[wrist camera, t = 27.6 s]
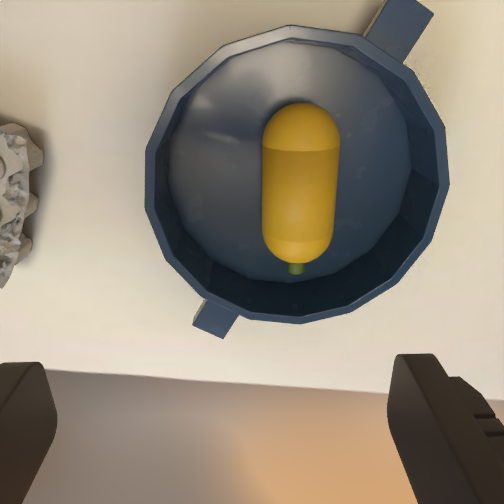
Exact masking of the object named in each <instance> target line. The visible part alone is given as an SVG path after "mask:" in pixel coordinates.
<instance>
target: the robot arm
mask: <svg viewBox="0 0 504 504" xmlns="http://www.w3.org/2000/svg"><path fill="white" fill-rule="evenodd" d="M387 417H388V424H389V429H390V432H391V435H392V437H393V440H394V443H395V445H396V448H397V450H398V453H399V456H400V458H401V461H402V463H403V466H404V468H405V471H406V473H407V476H408V479H409V481H410V484H411V486H412V489H413V492H414V494H415V497H416V499H417V502H418V504H504V426H503V424H502V423H501V422H500V420H499V419H498V418H496V417H495V413H494V412H493V410H492V409H491V407H490V406H489V404H488V403H487V402H486V400H485V399H484V397H483V396H482V394H481V393H480V392H478V391H477V390H476V389H475V388H473V387H472V386H471V385H469V384H468V383H467V382H466V381H464V380H463V379H462V378H461V377H448V375H447V374H446V372H445V370H444V369H443V367H442V366H441V364H440V363H439V361H438V359H437V358H436V357H435V356H434V355H433V354H398V355H397V356H396V358H395V361H394V366H393V372H392V378H391V385H390V391H389V397H388V403H387ZM56 428H57V411H56V408H55V404H54V401H53V397H52V394H51V390H50V387H49V383H48V380H47V377H46V373H45V370H44V367H43V365H42V364H41V363H39V362H11V363H2V364H0V504H22V502H23V500H24V498H25V496H26V494H27V492H28V490H29V488H30V486H31V484H32V482H33V480H34V478H35V476H36V474H37V472H38V470H39V468H40V466H41V464H42V462H43V460H44V458H45V456H46V454H47V452H48V450H49V447H50V446H51V444H52V441H53V439H54V436H55V433H56Z"/></svg>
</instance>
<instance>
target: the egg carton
mask: <svg viewBox="0 0 504 504" xmlns="http://www.w3.org/2000/svg"><path fill="white" fill-rule="evenodd" d="M43 160H44V154H43V151H42V150H40V149H39V148H38V147H37V146H36V145H35V144H34V143H33V142H32V141H31V139H30V137H29V134H28V131H27V130H26V129H25V128H24V127H21V126H19V125H18V124H16V123H10V124H6V125H3V126H0V288H3V287H4V286H5V284H6V282H7V281H8V279H9V277H10V275H11V273H12V270H13V267H14V265H16V264H17V263H19V262H20V261H21V260H22V259H23V258H24V257H26V256H27V255H28V254H29V253H30V252H31V249H32V241H31V239H29V238H27V237H26V236H25V235H24V234H23V232H22V228H23V222H24V219H25V218H26V217H27V216H29V215H30V214H32V213H33V212H35V211H36V209H37V207H38V198H37V197H36V196H35V195H33V194H31V193H30V192H29V171H31V170H32V169H35V168H37V167H39V166H41V165H42V163H43Z"/></svg>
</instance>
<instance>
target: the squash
mask: <svg viewBox="0 0 504 504" xmlns="http://www.w3.org/2000/svg"><path fill="white" fill-rule="evenodd" d="M339 152H340V135H339V131H338V127H337V125H336V123H335V121H334V119H333V118H332V117H331V115H330V114H329V113H328V112H326V111H325V110H324V109H322V108H321V107H319V106H317V105H314V104H311V103H293V104H290V105H287V106H285V107H283V108H281V109H280V110H279V111H277V112H276V113H275V114H274V115H273V116H272V118H271V119H270V120H269V121H268V123H267V125H266V127H265V130H264V133H263V138H262V233H263V238H264V241H265V243H266V245H267V247H268V248H269V250H270V251H271V252H272V253H273V254H274V255H275V256H276V257H278V258H279V259H281V260H283V261H286V262H287V271H288V272H289V273H291V274H302V273H304V271H305V263H306V262H310V261H312V260H314V259H316V258H318V257H319V256H320V255H321V254H322V253H323V252H324V251H325V250H326V249H327V247H328V246H329V244H330V241H331V239H332V236H333V230H334V217H335V204H336V191H337V178H338V165H339Z"/></svg>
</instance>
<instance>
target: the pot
mask: <svg viewBox="0 0 504 504" xmlns="http://www.w3.org/2000/svg"><path fill="white" fill-rule="evenodd" d="M433 15H434V13H433V12H431V11H430V10H429V9H427V8H426V7H425V6H423V5H422V4H420V3H419V2H418V1H416V0H384V1H383V2H382V4H381V6H380V7H379V9H378V11H377V12H376V14H375V16H374V18H373V19H372V21H371V23H370V24H369V26H368V28H367V29H366V31H365V33H364V34H363V36H361V35H359V34H356V33H348V32H341V31H334V30H327V29H320V28H312V27H305V26H298V25H286V26H283V27H280V28H277V29H273V30H270V31H267V32H264V33H261V34H257V35H254V36H251V37H248V38H245V39H242V40H238V41H235V42H232V43H229V44H226V45H223V46H221V47H220V48H219V49H218V50H217V51H216V52H215V53H214V54H213V55H211V56H210V57H209V58H208V59H207V60H206V61H205V62H204V63H202V64H201V65H200V66H199V67H198V68H197V69H196V70H195V71H194V72H192V73H191V74H190V75H189V76H188V77H187V78H186V79H185V80H183V81H182V82H181V83H180V84H179V85H178V86H177V87H176V88H175V89H173V90H172V92H171V94H170V96H169V98H168V100H167V103H166V105H165V107H164V109H163V111H162V114H161V116H160V118H159V120H158V122H157V125H156V127H155V129H154V131H153V134H152V136H151V138H150V140H149V142H148V145H147V147H146V150H145V211H146V213H147V216H148V218H149V221H150V223H151V226H152V228H153V231H154V233H155V235H156V238H157V240H158V243H159V245H160V248H161V250H162V253H163V255H164V258H165V259H166V261H167V262H168V263H169V264H170V265H171V266H172V267H173V268H174V269H175V270H176V271H177V272H178V273H179V274H180V275H181V276H182V277H183V278H184V279H185V280H186V281H187V282H188V283H189V285H190V286H191V287H192V288H193V289H194V290H195V291H196V292H197V293H198V294H199V295H200V296H201V297H203V298H204V299H205V300H204V301H203V303H202V305H201V306H200V308H199V310H198V311H197V313H196V315H195V316H194V319H193V324H192V325H193V326H195V327H197V328H199V329H202V330H204V331H206V332H208V333H210V334H213V335H215V336H217V337H219V338H222V339H224V337H225V336H226V334H227V332H228V331H229V329H230V328H231V326H232V325H233V323H234V322H235V320H236V319H237V317H238V316H239V315H241V316H243V317H245V318H247V319H250V320H261V321H271V322H281V323H291V324H304V323H308V322H312V321H317V320H321V319H325V318H330V317H334V316H338V315H342V314H347V313H350V312H352V311H354V310H356V309H357V308H359V307H361V306H362V305H364V304H365V303H367V302H369V301H370V300H372V299H373V298H375V297H377V296H378V295H380V294H382V293H383V292H385V291H386V290H388V289H390V288H391V287H393V286H394V285H396V284H397V283H398V282H399V281H400V280H401V278H402V277H403V276H404V275H405V273H406V272H407V271H408V270H409V268H410V267H411V266H412V265H413V263H414V262H415V261H416V260H417V259H418V257H419V256H420V255H421V254H422V252H423V251H424V250H425V249H426V247H427V246H428V245H429V244H430V242H431V240H432V238H433V235H434V232H435V229H436V226H437V223H438V220H439V217H440V214H441V211H442V208H443V205H444V202H445V199H446V196H447V192H448V189H449V186H450V182H449V170H448V158H447V145H446V133H445V126H444V124H443V122H442V120H441V118H440V117H439V115H438V113H437V111H436V110H435V108H434V106H433V104H432V103H431V101H430V99H429V97H428V96H427V94H426V92H425V90H424V89H423V87H422V85H421V83H420V82H419V80H418V78H417V76H416V75H415V73H414V72H413V70H411V69H410V68H408V67H407V66H405V65H404V64H402V63H403V62H404V60H405V59H406V57H407V55H408V54H409V52H410V51H411V49H412V48H413V46H414V45H415V43H416V42H417V40H418V39H419V37H420V35H421V34H422V32H423V31H424V29H425V28H426V26H427V25H428V23H429V22H430V20H431V19H432V17H433ZM293 103H311V104H314V105H317V106H319V107H321V108H322V109H324V110H325V111H326V112H328V113H329V114H330V115H331V117H332V118H333V119H334V121H335V123H336V125H337V127H338V131H339V135H340V152H339V165H338V178H337V191H336V204H335V217H334V230H333V236H332V239H331V241H330V244H329V246H328V247H327V249H326V250H325V251H324V252H323V253H322V254H321V255H320V256H319V257H318V258H316V259H314V260H312V261H310V262H306V263H305V271H304V273H302V274H291V273H289V272H288V271H287V262H286V261H283V260H281V259H279V258H278V257H276V256H275V255H274V254H273V253H272V252H271V251H270V250H269V248H268V247H267V245H266V243H265V241H264V238H263V233H262V138H263V133H264V130H265V127H266V125H267V123H268V121H269V120H270V119H271V118H272V116H273V115H274V114H275V113H276V112H277V111H279V110H280V109H281V108H283V107H285V106H287V105H290V104H293Z"/></svg>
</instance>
